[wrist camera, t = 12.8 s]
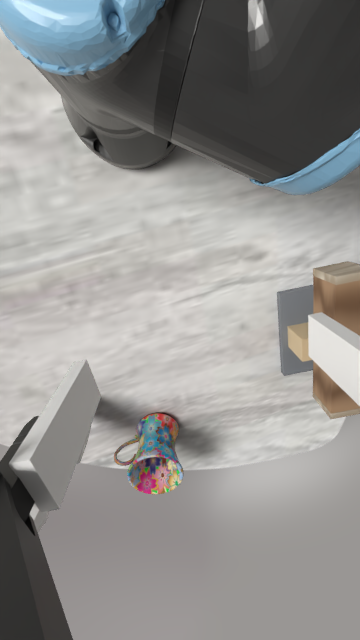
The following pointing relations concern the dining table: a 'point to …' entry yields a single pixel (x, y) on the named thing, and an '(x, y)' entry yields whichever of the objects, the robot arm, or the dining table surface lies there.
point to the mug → (154, 455)
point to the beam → (347, 309)
